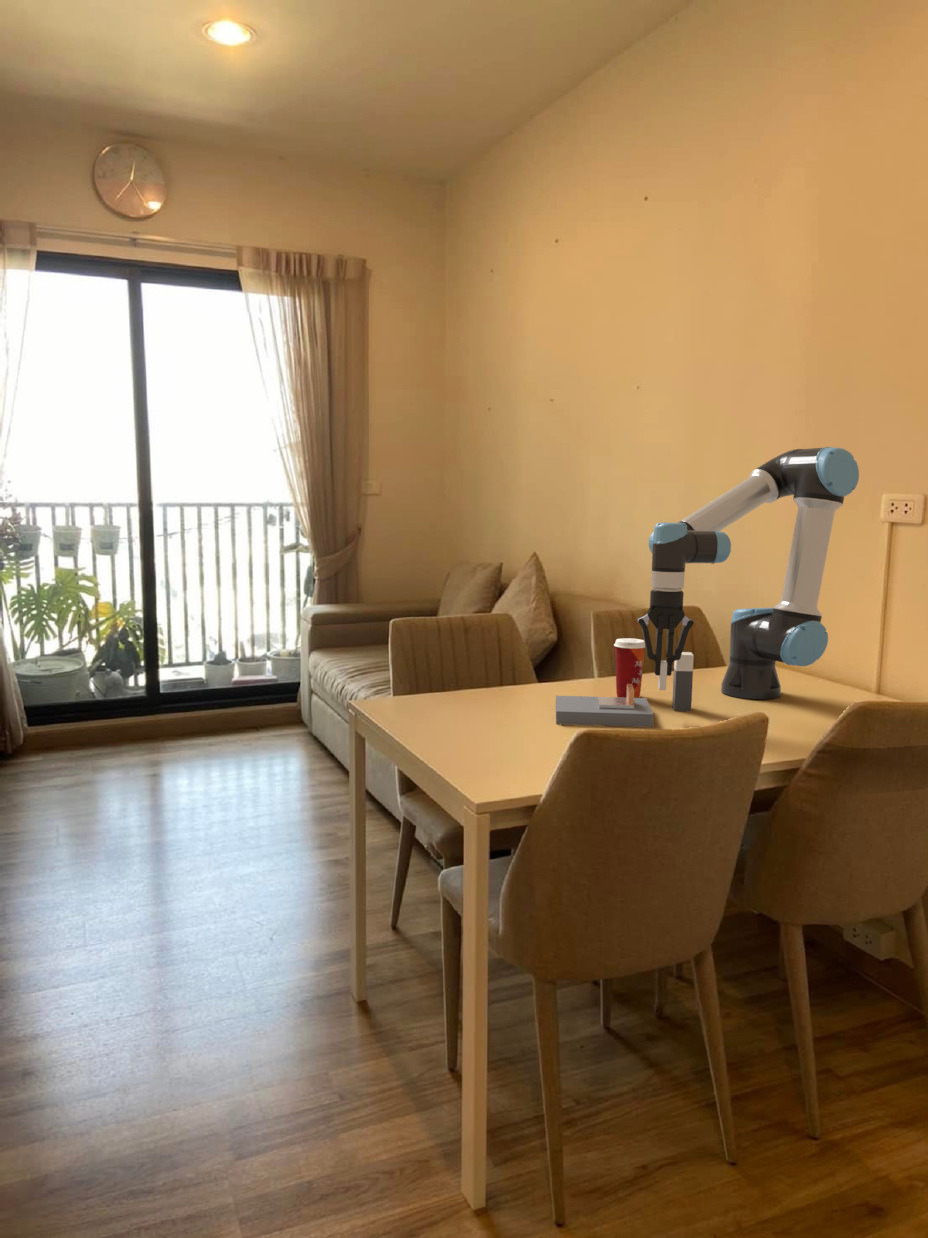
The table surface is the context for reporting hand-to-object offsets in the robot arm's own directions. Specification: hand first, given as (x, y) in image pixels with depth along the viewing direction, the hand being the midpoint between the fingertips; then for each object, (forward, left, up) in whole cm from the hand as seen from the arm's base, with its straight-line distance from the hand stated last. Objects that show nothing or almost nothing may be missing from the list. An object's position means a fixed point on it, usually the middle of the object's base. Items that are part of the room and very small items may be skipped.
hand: (662, 688), depth 210 cm
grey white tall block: (-6, -10, -7) cm, 14 cm away
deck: (+14, 0, -7) cm, 15 cm away
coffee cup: (+6, -22, -7) cm, 24 cm away
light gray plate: (+11, 0, -4) cm, 11 cm away
